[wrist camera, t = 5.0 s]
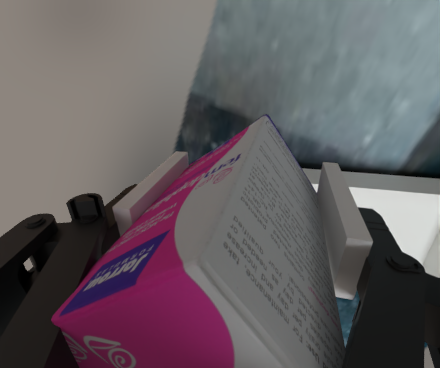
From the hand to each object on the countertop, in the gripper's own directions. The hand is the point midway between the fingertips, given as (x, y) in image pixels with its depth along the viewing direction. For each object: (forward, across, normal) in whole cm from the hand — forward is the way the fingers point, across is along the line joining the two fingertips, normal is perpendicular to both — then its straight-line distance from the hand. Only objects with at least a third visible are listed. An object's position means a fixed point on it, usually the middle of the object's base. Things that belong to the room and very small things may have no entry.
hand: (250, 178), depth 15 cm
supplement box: (+1, 0, 0) cm, 1 cm away
